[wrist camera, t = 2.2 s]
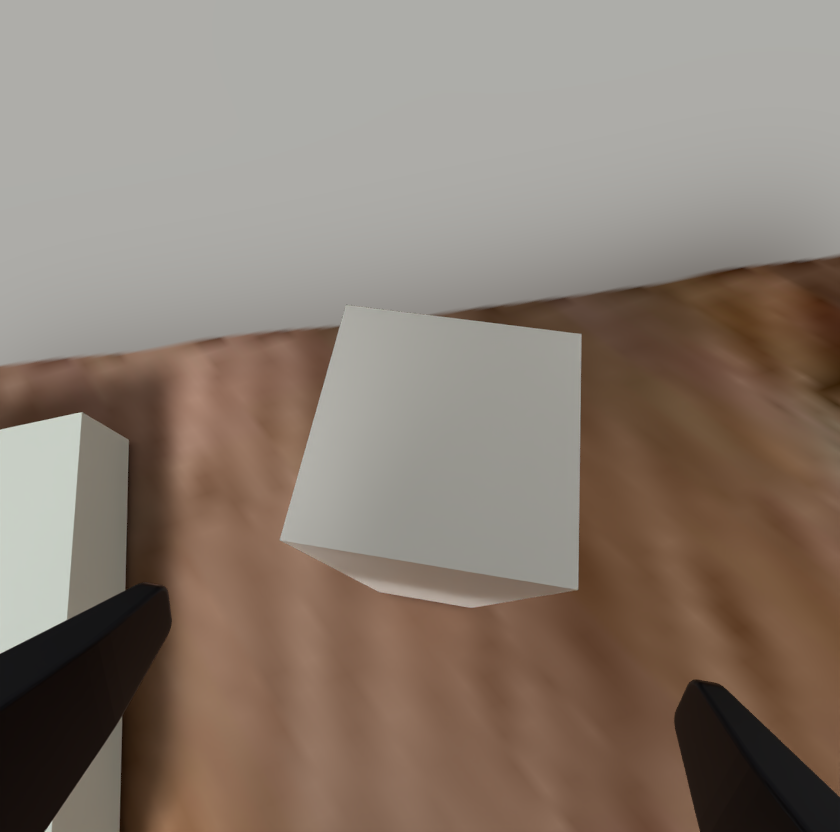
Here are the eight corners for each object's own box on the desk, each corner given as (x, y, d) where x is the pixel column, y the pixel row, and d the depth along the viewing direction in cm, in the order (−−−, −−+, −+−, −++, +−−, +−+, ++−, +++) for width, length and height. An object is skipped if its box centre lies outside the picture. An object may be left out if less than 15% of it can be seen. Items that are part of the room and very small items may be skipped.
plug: (471, 608, 17) (578, 589, 5) (379, 591, 17) (279, 540, 5) (481, 515, 18) (581, 334, 7) (395, 501, 19) (346, 305, 7)
